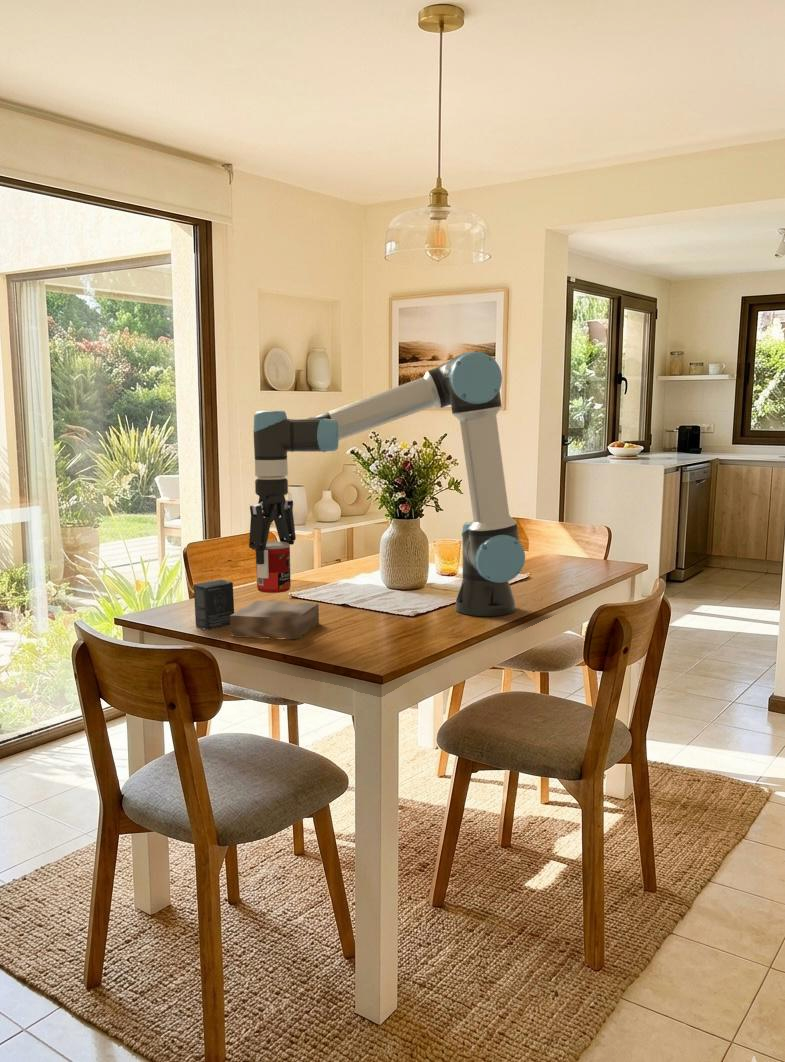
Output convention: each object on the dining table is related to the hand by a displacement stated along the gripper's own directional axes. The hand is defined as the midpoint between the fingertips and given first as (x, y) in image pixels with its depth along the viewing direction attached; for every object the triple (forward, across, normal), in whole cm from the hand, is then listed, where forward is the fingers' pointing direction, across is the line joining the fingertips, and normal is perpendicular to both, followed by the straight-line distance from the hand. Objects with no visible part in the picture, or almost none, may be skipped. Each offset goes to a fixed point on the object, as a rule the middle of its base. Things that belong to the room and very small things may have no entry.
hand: (273, 574), depth 215 cm
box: (+14, +3, -16) cm, 21 cm away
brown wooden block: (+13, 0, 0) cm, 13 cm away
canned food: (+4, 0, 0) cm, 4 cm away
